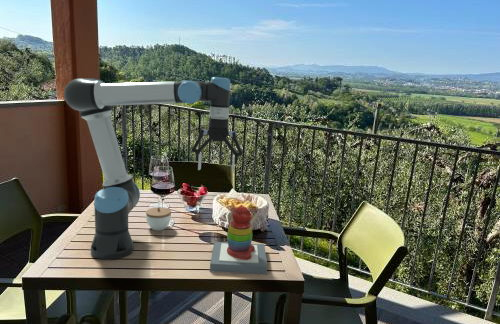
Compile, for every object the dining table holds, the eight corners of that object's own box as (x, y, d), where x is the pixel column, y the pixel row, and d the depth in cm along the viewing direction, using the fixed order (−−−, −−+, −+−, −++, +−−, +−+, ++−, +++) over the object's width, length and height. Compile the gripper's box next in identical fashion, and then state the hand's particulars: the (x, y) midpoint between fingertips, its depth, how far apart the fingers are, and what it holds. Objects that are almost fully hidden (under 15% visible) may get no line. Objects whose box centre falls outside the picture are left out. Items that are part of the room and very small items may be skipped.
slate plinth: (209, 271, 129) (210, 262, 128) (213, 248, 147) (214, 240, 146) (266, 274, 130) (267, 265, 129) (263, 251, 147) (264, 243, 147)
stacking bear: (250, 260, 131) (253, 213, 128) (222, 256, 133) (225, 210, 129) (255, 248, 142) (258, 204, 138) (230, 244, 144) (232, 201, 140)
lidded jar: (150, 222, 169) (150, 203, 167) (173, 224, 169) (173, 204, 167) (142, 231, 158) (142, 211, 156) (167, 233, 158) (167, 212, 156)
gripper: (185, 116, 140) (183, 170, 145) (250, 121, 140) (246, 175, 145) (188, 114, 148) (187, 166, 152) (250, 119, 148) (247, 170, 152)
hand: (216, 170), depth 149 cm, fingers open, 13 cm apart
